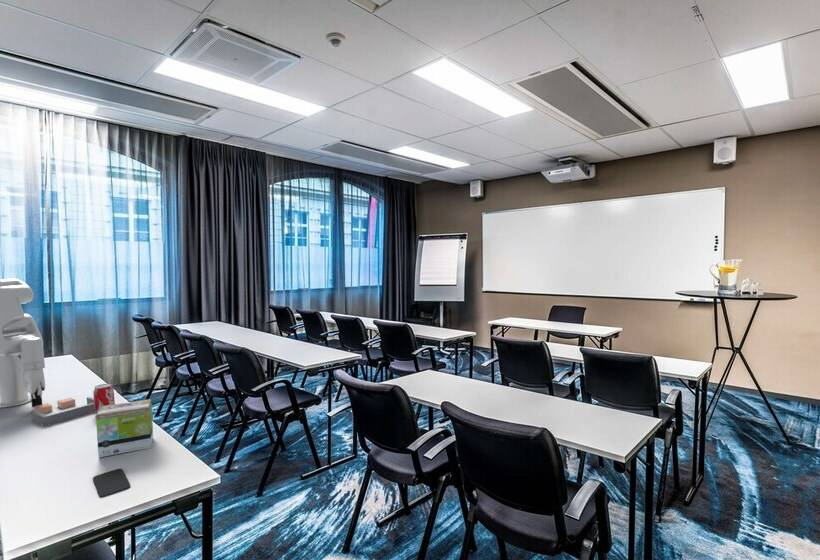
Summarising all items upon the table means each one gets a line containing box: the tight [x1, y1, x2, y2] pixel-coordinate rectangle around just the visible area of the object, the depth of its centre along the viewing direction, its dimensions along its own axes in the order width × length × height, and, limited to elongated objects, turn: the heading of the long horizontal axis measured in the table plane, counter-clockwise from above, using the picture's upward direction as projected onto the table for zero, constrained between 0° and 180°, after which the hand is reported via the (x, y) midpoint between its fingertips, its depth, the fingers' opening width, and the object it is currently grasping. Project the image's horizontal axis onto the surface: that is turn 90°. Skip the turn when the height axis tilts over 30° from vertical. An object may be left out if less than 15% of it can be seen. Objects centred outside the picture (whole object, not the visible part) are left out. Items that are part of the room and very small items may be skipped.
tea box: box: [95, 398, 154, 459], centre depth 146 cm, size 15×10×15 cm, turn 117°
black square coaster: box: [92, 468, 131, 498], centre depth 123 cm, size 7×1×15 cm
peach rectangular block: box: [56, 397, 76, 410], centre depth 190 cm, size 5×5×3 cm
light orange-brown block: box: [32, 402, 53, 415], centre depth 184 cm, size 5×5×3 cm
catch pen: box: [31, 396, 95, 427], centre depth 180 cm, size 13×20×4 cm, turn 148°
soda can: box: [92, 383, 116, 416], centre depth 179 cm, size 7×7×12 cm
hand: (37, 406), depth 188 cm, fingers closed
